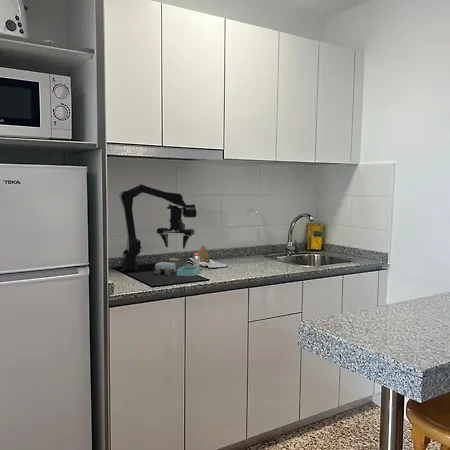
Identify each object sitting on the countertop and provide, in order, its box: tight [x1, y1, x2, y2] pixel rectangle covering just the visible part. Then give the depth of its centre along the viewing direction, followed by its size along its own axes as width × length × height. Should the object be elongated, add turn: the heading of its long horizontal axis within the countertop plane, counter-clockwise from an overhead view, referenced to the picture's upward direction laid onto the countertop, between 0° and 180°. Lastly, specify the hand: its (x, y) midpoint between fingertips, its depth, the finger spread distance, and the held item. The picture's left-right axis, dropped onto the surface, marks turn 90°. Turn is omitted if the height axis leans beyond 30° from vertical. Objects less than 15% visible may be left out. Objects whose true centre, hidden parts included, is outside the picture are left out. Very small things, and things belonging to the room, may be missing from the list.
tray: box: [176, 265, 201, 277], centre depth 217 cm, size 8×10×3 cm
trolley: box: [154, 261, 177, 276], centre depth 218 cm, size 8×10×5 cm
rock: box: [196, 245, 211, 263], centre depth 246 cm, size 11×9×10 cm
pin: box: [192, 252, 200, 267], centre depth 228 cm, size 3×3×8 cm
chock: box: [168, 256, 183, 270], centre depth 233 cm, size 5×8×5 cm, turn 166°
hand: (175, 248), depth 233 cm, fingers open, 9 cm apart
